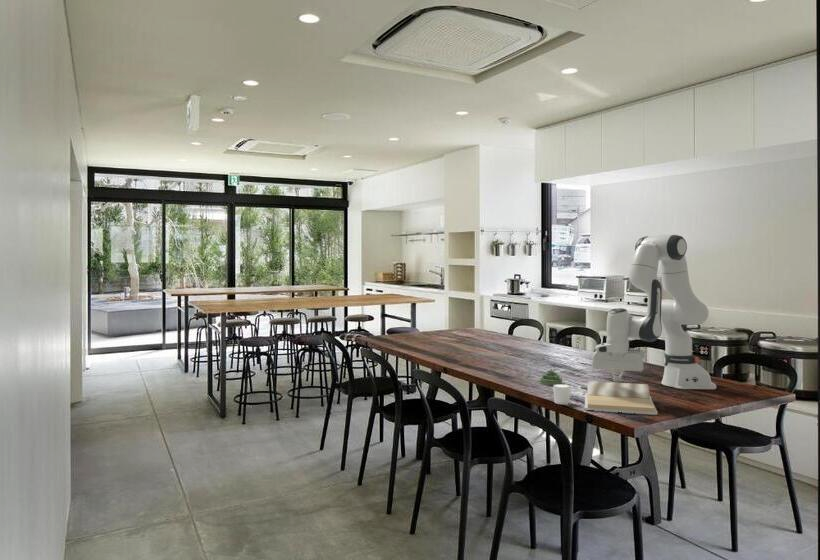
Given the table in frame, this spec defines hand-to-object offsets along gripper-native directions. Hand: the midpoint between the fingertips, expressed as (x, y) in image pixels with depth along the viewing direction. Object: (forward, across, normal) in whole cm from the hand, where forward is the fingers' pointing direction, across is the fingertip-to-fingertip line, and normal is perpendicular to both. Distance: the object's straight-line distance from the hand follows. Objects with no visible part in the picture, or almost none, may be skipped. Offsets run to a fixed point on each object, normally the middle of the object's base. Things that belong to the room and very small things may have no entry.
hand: (617, 380), depth 240 cm
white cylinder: (+8, +22, +12) cm, 26 cm away
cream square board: (+8, 0, +9) cm, 12 cm away
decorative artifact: (+8, +28, -23) cm, 37 cm away
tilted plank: (+5, 0, +2) cm, 5 cm away
